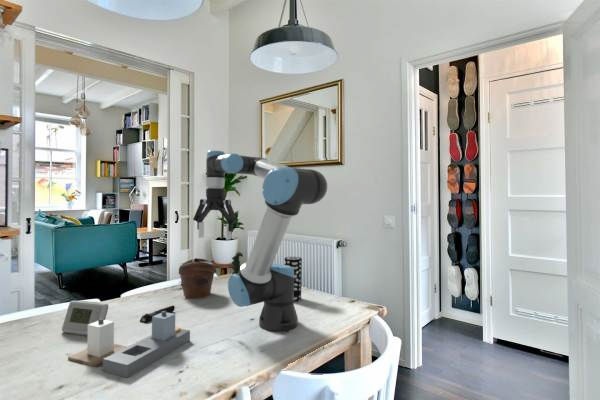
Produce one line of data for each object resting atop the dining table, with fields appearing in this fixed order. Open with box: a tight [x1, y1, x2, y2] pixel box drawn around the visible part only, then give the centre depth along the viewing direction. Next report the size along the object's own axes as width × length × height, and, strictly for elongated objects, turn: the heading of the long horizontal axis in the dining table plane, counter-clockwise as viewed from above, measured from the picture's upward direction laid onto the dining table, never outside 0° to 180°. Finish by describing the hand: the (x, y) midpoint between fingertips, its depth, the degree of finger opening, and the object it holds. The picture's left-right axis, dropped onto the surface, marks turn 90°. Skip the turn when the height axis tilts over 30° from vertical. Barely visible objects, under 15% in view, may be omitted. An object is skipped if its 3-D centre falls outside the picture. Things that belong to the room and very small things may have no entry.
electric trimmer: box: [139, 305, 175, 324], centre depth 140 cm, size 4×16×3 cm, turn 152°
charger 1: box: [86, 318, 115, 357], centre depth 106 cm, size 5×5×10 cm
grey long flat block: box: [102, 326, 191, 379], centre depth 107 cm, size 9×26×4 cm, turn 159°
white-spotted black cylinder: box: [284, 256, 303, 303], centre depth 166 cm, size 8×8×20 cm
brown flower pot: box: [178, 257, 217, 299], centre depth 172 cm, size 18×20×18 cm
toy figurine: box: [231, 251, 244, 275], centre depth 190 cm, size 9×19×25 cm
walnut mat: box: [67, 343, 128, 368], centre depth 106 cm, size 12×12×1 cm
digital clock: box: [61, 300, 109, 337], centre depth 123 cm, size 16×9×11 cm, turn 66°
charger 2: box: [151, 311, 176, 341], centre depth 112 cm, size 5×5×10 cm
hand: (214, 238), depth 144 cm, fingers open, 13 cm apart
